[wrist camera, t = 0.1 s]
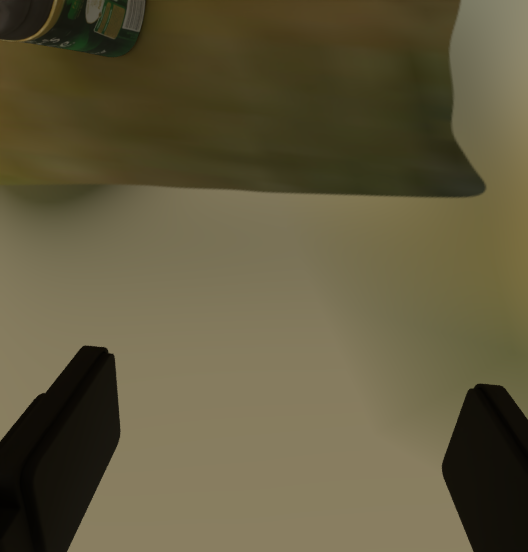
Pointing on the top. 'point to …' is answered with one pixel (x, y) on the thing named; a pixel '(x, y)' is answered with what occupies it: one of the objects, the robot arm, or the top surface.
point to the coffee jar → (74, 24)
